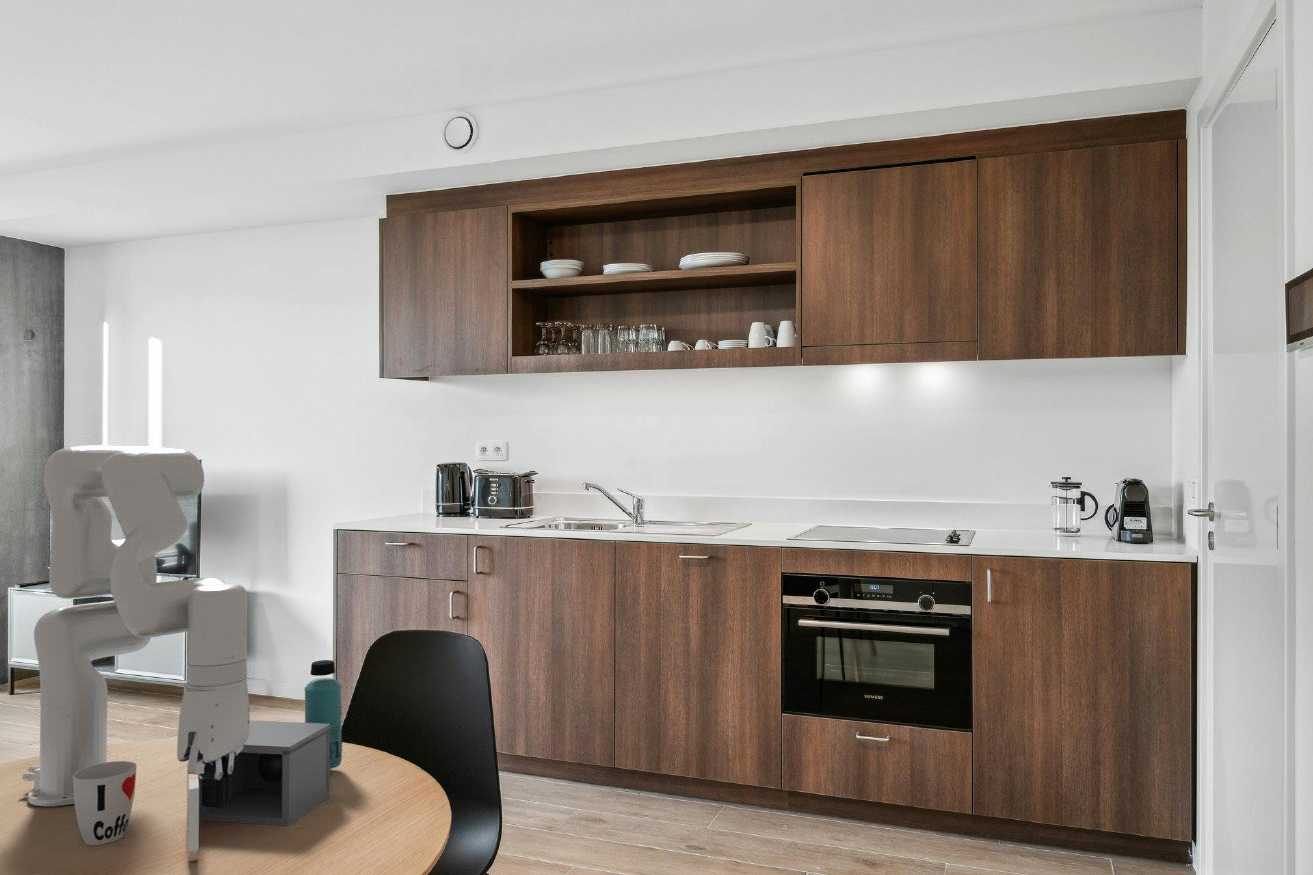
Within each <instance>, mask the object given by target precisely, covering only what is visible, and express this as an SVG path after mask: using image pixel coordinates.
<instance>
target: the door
mask: <svg viewBox="0 0 1313 875" xmlns="http://www.w3.org/2000/svg"><path fill="white" fill-rule="evenodd" d="M186 763H187V765H186V770H187V769H188V763H189V760H188V761H186ZM186 773H187V772H186ZM199 821H200V820H199V781H198V774H188V773H187V774H186V833H187V834H186V836H187V837H186V838H187V840H186V841H187V862H192V861H196V860H199V846H200V845H199V844H200V843H199V837H200V836H199V835H200V834H199V830H200V827H199V825H200V822H199Z"/></svg>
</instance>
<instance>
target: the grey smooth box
mask: <svg viewBox="0 0 1313 875" xmlns="http://www.w3.org/2000/svg"><path fill="white" fill-rule="evenodd" d="M208 764H211V763H208ZM228 775H230V802H229V803H228V804H227V805H225V806H223V807H222V808H214V807H203V806H202V779H200V778H199V774H198V781H199V821H212V822H213V821H214V822H228V823H243V824H255V825H257V824H259V825H274V826H275V825H276V826H291V825H292V824H294V823H295V822H297V821H299V819H300V818H302V817H303V816H305V815H306V814H308V812H310V811H312V810H313V809H314V808H316V807H317V806H319V805H321V804H322V803H323V802H324V801H325V800H327V799H328V798H330V797H331V769H330V724H321V723H305V722H298V721H297V722H294V721H272V720H271V721H270V720H251V719H250V729H249V738H248V740H247V742H246V743H245V744H244V745H243V749H242V751H240V752H239V753H238V754H237V755H236V757H235V759H234V764H233V771H232V773H231V774H228Z"/></svg>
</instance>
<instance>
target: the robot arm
mask: <svg viewBox="0 0 1313 875" xmlns="http://www.w3.org/2000/svg"><path fill="white" fill-rule="evenodd" d="M43 482H44V483H43V485H44V489H45V494H46V496H47V501H48V504H49V507H50V511H51V519H52V520H51V521H52V526H51V536H50V537H51V538H50V539H51V540H50V553H49V571H48V572H49V577H48V578H49V586H50V590H51V592H52V593H53V595H55V596H56V597H58V598H61V599H67V600H78V599H87V598H96V597H97V598H98V597H106V596H107V597H108V596H111V597H112V599H113V600H109V601H101V602H91V603H90V602H88V603H83V604H73V605H68V606H62V607H58V608H55V609H51V610H50V611H47V612H46V613H44V614H43V615H42V616H41V617H40V618H39V619H38V620H37V621H36V624H35V627H34V630H33V638H34V640H33V641H34V646H35V652H36V657H37V662H38V669H39V681H40V682H39V688H40V689H39V690H40V696H39V698H40V700H39V702H40V703H39V704H40V709H39V710H40V716H39V717H40V719H39V720H40V723H39V724H40V725H39V726H40V728H39V733H40V734H39V764H32V765H30V766H29V768H28V769H27V771H25V772H24V773H23V775H22V781H25V782H27V781H28V782H34V783H33V788H32V789H31V790H30V791H29V792H28V794H27V802H28V803H29V804H30V805H33V806H37V807H60V806H69V805H74V790H73V774H74V773H75V772H77V771H78V770H80V769H83V768H86V767H89V766H92V765H96V764H101V763H107V759H108V756H107V755H108V753H107V752H108V748H107V747H108V685H107V682H106V678H105V677H104V676H103V675H102V674H101V673H100V672H99V670H97V669H96V668H95V667H94V666H93V663H92V662H93V661H94V660H99V659H100V660H101V659H102V658H108V657H113V656H120V655H125V654H130V653H135V652H138V651H140V650H142V649H143V650H144V649H145V647H146V646H148V645H149V643H150V641H151V639H152V638H156V637H157V638H158V637H163V636H169V635H170V636H171V635H175V634H182V633H187V651H186V652H187V653H186V654H187V656H186V657H187V658H186V659H187V663H186V688H185V689H184V691H183V695H182V700H181V705H180V711H179V718H178V729H177V746H176V753H177V754H176V756H177V760H178V762H182V763H184V762H187V761H188V760H189V763H188V769H187V768H186V770H187V771H186V773H188V774H199V778H200V779H202V806H203V807H214V808H222V807H223V806H225V805H227V804H228V803H229V802H230V775H228V774H231V773H232V771H233V764H234V759H235V757H236V755H237V754H238V753H239V752H240V751H242V749H243V745H244V744H245V743H246V742H247V740H248V738H249V729H250V720H251V718H250V716H251V715H250V712H251V711H250V698H249V689H248V683H247V680H248V679H247V678H248V677H247V674H248V671H247V670H248V669H247V668H248V667H247V666H248V658H247V657H248V593H247V590H246V588H245V587H244V586H243V585H240V584H238V583H228V582H225V581H223V580H222V579H220V578H216V577H199V578H192V579H191V578H190V579H182V580H181V579H180V580H179V579H178V580H171V581H170V580H169V581H163V582H162V581H161V582H158V581H157V580H158V579H157V578H158V564H157V559H156V554H158V553H161V552H162V551H164V550H166V549H168V548H169V547H171V546H173V545H174V544H175V543H177V542H178V541H180V539H181V538H182V537H183V535H184V534H185V533H186V531H187V527H188V519H187V517H186V515H185V513H184V511H183V509H182V506H181V505H180V502H179V501H189V500H193V499H195V498H197V497H198V496H199V495H200V494H201V492H202V491H203V487H204V485H205V484H204V483H205V472H204V468H203V466H202V463H201V461H200V460H199V459H198V457H197V456H196V454H194V453H192V452H191V451H189V450H186V449H177V448H176V449H175V448H170V447H167V448H166V447H159V446H129V445H126V446H123V445H122V446H121V445H120V446H118V445H117V446H116V445H115V446H114V445H113V446H112V445H78V446H76V445H75V446H68V447H64V448H61V449H59V450H56V451H55V452H53V453H52V454H51V455H50V456H49V458H48V460H47V461H46V464H45V467H44V474H43ZM105 497H107V498H108V500H109V502H110V504H111V507H112V510H113V512H114V515H115V517H116V519H117V520H118V523H119V526H120V528H121V532H123V535H124V537H125V538H124V539H112V528H113V527H112V525H113V516H112V512H111V510H110V508H109V507H108V506H107V504H106V502H104V500H103V499H102V498H105ZM208 763H211V764H208Z"/></svg>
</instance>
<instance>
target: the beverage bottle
mask: <svg viewBox="0 0 1313 875" xmlns="http://www.w3.org/2000/svg"><path fill="white" fill-rule="evenodd" d="M335 673H336V667H335V661H334V660H331V659H323V660H322V659H321V660H316V661H313V662H312V663H311V665H310V675H312V676H317V677H321V676H328V675H334V674H335ZM342 708H343V703H342V683H340V682H339V681H338V680H337V679H336V678H334V677H321V678H315V679H312V680H311V681H309V683H308V684H306V685H305V687H304V723H321V724H330V770H331V769H332V770H333V769H335V768H338V767H339V766H340V765H341V763H342V759H343V754H342V753H343V738H342V734H343V733H342V730H343V728H342V718H343V716H342V715H343V714H342V713H343V712H342V711H343V709H342Z"/></svg>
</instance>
